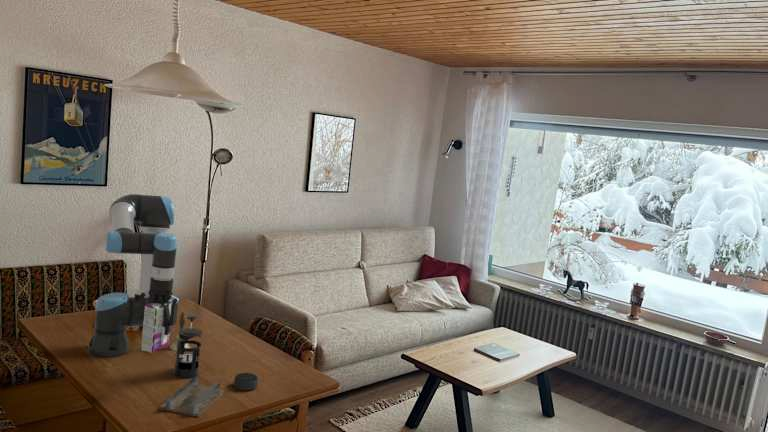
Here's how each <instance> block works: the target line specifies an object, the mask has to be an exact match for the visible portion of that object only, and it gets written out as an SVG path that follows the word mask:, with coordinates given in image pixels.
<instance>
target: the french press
mask: <svg viewBox="0 0 768 432" xmlns="http://www.w3.org/2000/svg"><path fill="white" fill-rule="evenodd" d="M186 320H190V327H189V328H188V327H187V328H184V329H181V330H180V329H178V331H177V334H179V338H180V339H181V340H178V343H177V351H176V357H175V364H174V370H173V373H172V374H173V376H174V377H176V378H179V379H186V380H187V379H193V378H197V376H199V373H200V372H199V370H200V368H199V367H200V365H199V359H200V353H201V352H200V351H201V349H202V343H201V342H200V341H197V340H194V339H193V340H192V338H196V337H199V338H200V339H201V338H202V335H203V334H204V333H203V330H201V329H197V328H193V327H192V326H193V325H192V324H193V322H194V321H195V320H198V317H197V316H194V315H187V316H186ZM187 343H188V345H189V346H190V348H189V347H188V348H185V344H187ZM191 344H192V345H196V347H192V348H191ZM185 352H187V353H185ZM191 353H192V354H191Z"/></svg>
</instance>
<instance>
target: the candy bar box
mask: <svg viewBox="0 0 768 432" xmlns="http://www.w3.org/2000/svg"><path fill="white" fill-rule="evenodd" d="M166 304H168V303H166ZM166 304H165V305H166ZM171 304H172V303H171V299H170V300H169V311H170V314H171ZM163 314H164V307H163V305H161V304H159V303H150V304H148V305H145V309H144V320H143V326H142V333H141V334H142V335H141V341H140V342H141V344H140V351H141V352H147V353H151V354H154V353H155V352H158V351H159V350H161V349H162V348H163V347H165V346H168V345H169V344H171V335H172V326H170V333H169V334H168V335H167V342H166V343H164V344H163V345H162V344H161V335H162V326H164V325H165V324H164V317H163Z"/></svg>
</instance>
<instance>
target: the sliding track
mask: <svg viewBox="0 0 768 432" xmlns="http://www.w3.org/2000/svg"><path fill="white" fill-rule="evenodd" d="M220 387H221V382H220V381H215V382H214V383H213V384H212V385H211V386H206V385H202V384H199V377H194V378H191V380H189V381H188V382H187V383H186V384H184V385H183V386H182V387H181V388H179V389H178V390H177V391H176V392H175V393H173V394H172V395H171V396H170V397H169V398H167V399H166V400H165V401H164V402H163V403H162V404H161V405H160V406H159V410H160V411H161V410H162V411H166V412H171V413H175V414H180V415H181V414H182V415H185V416H191V417H196V418H200V417H201V416H202V415H203V414H204V413H205V412H206V411H207V410H208V409H209V408H210V407H211V406H212V405H213V404H214V403H215V402H216V401H217V400H218V399H219V398H220V397H221V396H222V395H223V394H224V393H225V389H221V388H220Z"/></svg>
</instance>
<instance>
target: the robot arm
mask: <svg viewBox="0 0 768 432" xmlns="http://www.w3.org/2000/svg"><path fill="white" fill-rule="evenodd" d="M108 214H109V215H108V216H109V218H110V220H111V231H108V232H107V233H106V239H105V240H106V241H105V251H106V252H107V253H112V254H128V255H129V254H134V255H135V254H136V255H137V254H138V255H141V260H140V271H139V273H140V274H139V283H138V284H139V287H138V289H137V290H136V291H135V292H134V297H133V296H132V297H130V294H128V293H126V292H118V291H117V292H112V293H107V294H103V295H101V296H100V297H98V299H97V300H96V302H97V303H96V307H95V321H94V331H93V334H92V336H91V338H90V340H89V343H88V345H87V346H88V347H87V352H88V353H89V354H90V355H93V356H95V357H100V358H101V357H103V358H104V357H105V358H110V357H118V356H123V355H125V354H127V353H128V352H129V350H130V349H129V348H130V343H129V339H128V336H127V332H126V331H127V327H143V320H144V309H145V305H148V304H150V303H159V304H161V305H163V307H164V314H163V317H164V324H165V325H164V326H162V335H161V344H162V345H163V344H164V343H166V342H167V335H168V334H169V333H170V326H171V327H173V326H175V325H176V324H177V317H178V307H179V306H178V305H179V303H180V300H181V298H180V297H179V296H177V297H176V296H174V294H173V288H174V276H175V267H176V266H175V265H176V256H177V251H178V250H177V249H178V236H177V235H176V234H173V233H168V231H169V230H170V229H171V226H173V225H174V224H175V208H174V201H173V200H172V198H170V197H168V196H162V195H148V194H147V195H145V194H137V193H136V194H135V193H131V194H126V195H123V196H120V197H119V198H117V199H116V200H114V201H113V202H112V203H111V205H110V207H109V210H108ZM135 223H137V224H139V228H140V229H141V230H142V231H143V232H136V231H135ZM169 300H171V303H172V304H171V314H170V311H169ZM166 303H168V304H166ZM165 304H166V305H165Z"/></svg>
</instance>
